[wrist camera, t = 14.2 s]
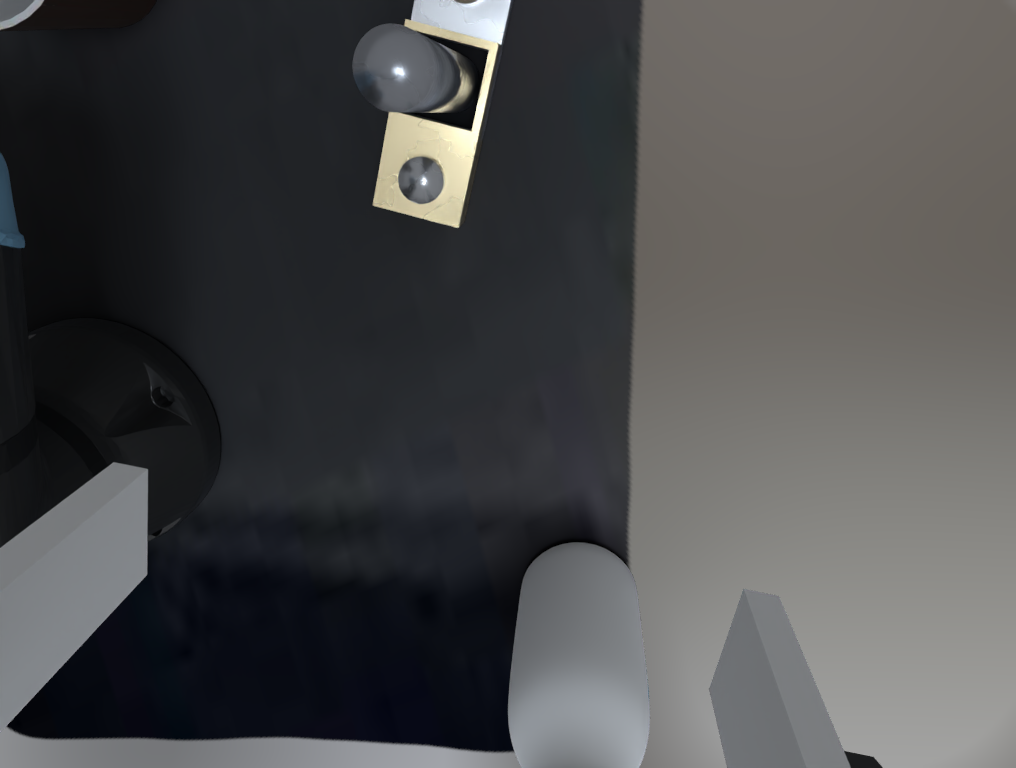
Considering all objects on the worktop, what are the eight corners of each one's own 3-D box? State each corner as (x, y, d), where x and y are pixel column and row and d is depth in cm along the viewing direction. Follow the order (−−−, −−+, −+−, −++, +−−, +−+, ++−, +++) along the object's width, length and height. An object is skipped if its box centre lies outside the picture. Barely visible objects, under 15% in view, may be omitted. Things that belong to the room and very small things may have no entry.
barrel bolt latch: (383, 200, 43) (369, 206, 40) (433, -73, 38) (421, -88, 35) (464, 222, 43) (456, 229, 40) (524, -49, 38) (520, -62, 35)
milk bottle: (500, 566, 51) (453, 832, 32) (602, 519, 49) (617, 773, 30) (556, 651, 53) (543, 949, 34) (656, 609, 51) (701, 900, 32)
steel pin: (420, 105, 41) (346, 100, 28) (432, 46, 40) (360, 13, 27) (473, 119, 41) (424, 121, 28) (486, 61, 40) (441, 35, 27)
